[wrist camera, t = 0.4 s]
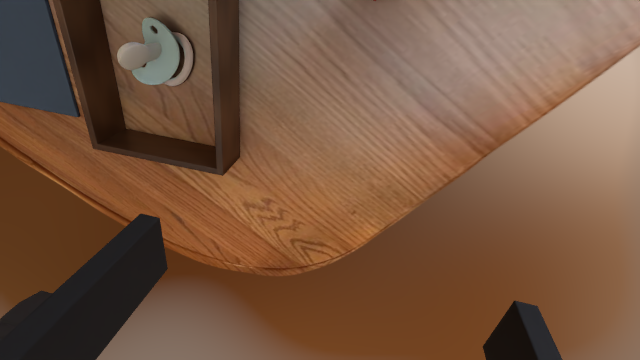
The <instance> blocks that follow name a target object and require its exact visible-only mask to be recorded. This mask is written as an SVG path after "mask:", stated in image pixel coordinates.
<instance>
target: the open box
mask: <svg viewBox="0 0 640 360" xmlns="http://www.w3.org/2000/svg"><path fill="white" fill-rule="evenodd" d="M53 3H54V7H55V10H56V14H57V18H58V21H59V25H60V29H61V32H62V36H63V40H64V43H65V47H66V51H67V54H68V58H69V62H70V65H71V69H72V73H73V77H74V80H75V84H76V88H77V91H78V95H79V99H80V102H81V106H82V110H83V113H84V117H85V121H86V124H87V128H88V132H89V135H90V139H91V143H92V146H93V149H97V150H102V151H107V152H112V153H117V154H122V155H126V156H131V157H136V158H141V159H146V160H150V161H155V162H160V163H165V164H170V165H174V166H179V167H184V168H189V169H194V170H199V171H203V172H208V173H213V174H218V175H222V176H223V175H224V174H225V173H226V172H227V171H228V170H229V169H230V167H231V166H232V165H233V164H234V163H235V162H236V161H237V159H238V158H239V157H240V117H239V0H208V5H209V25H210V44H211V64H212V84H213V104H214V124H215V144H216V147H214V146H209V145H204V144H199V143H194V142H189V141H183V140H178V139H173V138H168V137H163V136H158V135H153V134H148V133H143V132H138V131H133V130H128V129H126V128H125V123H124V118H123V113H122V108H121V103H120V98H119V94H118V89H117V84H116V79H115V74H114V69H113V64H112V60H111V55H110V50H109V45H108V40H107V35H106V30H105V25H104V21H103V16H102V11H101V6H100V1H99V0H53Z"/></svg>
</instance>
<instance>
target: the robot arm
mask: <svg viewBox="0 0 640 360" xmlns="http://www.w3.org/2000/svg"><path fill="white" fill-rule="evenodd" d="M166 270H167V262H166V256H165V249H164V243H163V237H162V231H161V224H160V218H157V217H153V216H149V215H145V214H140V215H139V216H138V217H136V218H135V219H134V220H133V221H132V222H131V223H130V224H129V225H128V226H126V227H125V228H124V229H123V230H122V231H121V232H120V233H119V234H118V235H117V236H116V237H114V238H113V239H112V240H111V241H110V242H109V243H108V244H107V245H106V246H105V247H104V248H102V249H101V250H100V251H99V252H98V253H97V254H96V255H94V256H93V257H92V258H91V259H90V260H89V261H88V262H87V263H86V264H85V265H83V266H82V267H81V268H80V269H79V270H78V271H77V272H76V273H75V274H74V275H72V276H71V277H70V278H69V279H68V280H67V281H66V282H65V283H64V284H63V285H61V286H60V287H59V288H58V289H57V290H56V291H55V292H54V293H53V294H52V293H48V292H44V291H40V292H38V293H36V294H34V295H32V296H31V297H29V298H27V299H25V300H23V301H21V302H20V303H18V304H17V305H16V306H15V307H14V308H12V309H11V310H10V311H9V312H8V313H6V314H5V315H4V316H3V317H2V318H1V319H0V360H96V359H97V357H98V356H99V355H100V354H101V352H102V351H103V350H104V348H105V347H106V346H107V345H108V344H109V342H110V341H111V340H112V338H113V337H114V336H115V335H116V333H117V332H118V331H119V330H120V328H121V327H122V326H123V324H124V323H125V322H126V321H127V319H128V318H129V317H130V316H131V314H132V313H133V312H134V311H135V309H136V308H137V307H138V305H139V304H140V303H141V302H142V301H143V299H144V298H145V297H146V295H147V294H148V293H149V292H150V290H151V289H152V288H153V287H154V285H155V284H156V283H157V282H158V280H159V279H160V278H161V276H162V275H163V274H164V273H165V271H166ZM483 349H484V353H485V357H486V360H562V358H561V356H560V354H559V352H558V349H557V347H556V345H555V343H554V341H553V339H552V336H551V334H550V332H549V330H548V328H547V326H546V324H545V321H544V319H543V317H542V315H541V313H540V311H539V309H538V306H535V305H531V304H526V303H522V302H518V301H514V302H513V304H512V305H511V306H510V308H509V310H508V311H507V312H506V314H505V315H504V317H503V318H502V319H501V321H500V322H499V324H498V325H497V327H496V328H495V330H494V331H493V332H492V334H491V336H490V337H489V338H488V340H487V341H486V343H485V344H484V346H483Z"/></svg>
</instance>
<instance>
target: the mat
mask: <svg viewBox="0 0 640 360" xmlns="http://www.w3.org/2000/svg"><path fill="white" fill-rule="evenodd" d="M0 102H4V103H9V104H14V105H19V106H24V107H29V108H35V109H40V110H45V111H50V112H55V113H60V114H65V115H70V116H75V117H79V116H80V114H79V110H78V107H77V103H76V100H75V96H74V92H73V89H72V85H71V82H70V78H69V75H68V71H67V67H66V64H65V60H64V57H63V53H62V49H61V46H60V42H59V39H58V35H57V31H56V28H55V24H54V21H53V17H52V14H51V10H50V6H49V3H48V0H0Z"/></svg>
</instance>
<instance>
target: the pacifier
mask: <svg viewBox="0 0 640 360" xmlns="http://www.w3.org/2000/svg"><path fill="white" fill-rule="evenodd" d="M152 25H153V26H154V27H156V29H157V31H158V33H155V32H154V31H153V30H152ZM142 32H143V36H144V39H145V43H144V44H141V43H138V42H129V43H126V44H124V45H123V46H121V47H120V49H119V50H118V53H117V59H118V62H119V64H120V65H121V66H122V67H123V68H125V69H127V70H131V71H132V73H133V75H134V76H135V78H136V79H137V80H139V81H140V82H142V83H145V84H148V85H158V84H162V83H164V84H166V85H168V86H177V85H179V84H181V83H183V82H184V81H185V80H186V79H187V77H188V75H189V74H190V72H191V69H192V66H193V50H192V47H191V44H190V42H189V41H188V39H187V38H186V37H185V36H184V35H182V34H180V33H176V32H172V33H171V31H170V30H169V29H168V28H167V27H166V26H165V25H164V24H163V23H162V22H160V21H159V20H157V19H155V18H151V17H149V18H145V19H144V20H143V23H142ZM177 41H178V42H179V43H180V44H181V45H182V47H183V50H184V54H185V61H184V66H183V69H182V71H181V72H180V74H179V75H178V76H177V77H175V78H171V77H172V76H173V75H174V73H175V72H176V70H177V68H178V65H179V62H180V49H179V45H178V43H177ZM145 63H147V65H146V67H142V66H143V65H144V64H145Z"/></svg>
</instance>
